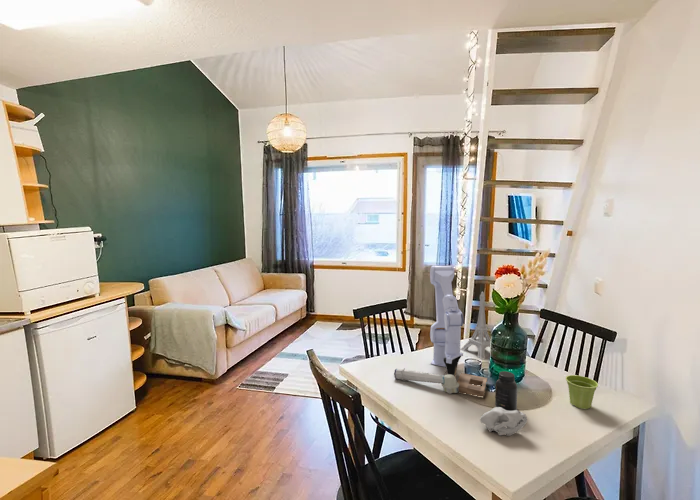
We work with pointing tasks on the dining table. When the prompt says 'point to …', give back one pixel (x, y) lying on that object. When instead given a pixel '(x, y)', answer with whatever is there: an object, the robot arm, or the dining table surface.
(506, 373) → the supplement bottle
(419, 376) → the gray mallet
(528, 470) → the dining table surface
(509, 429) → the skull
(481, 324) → the eiffel tower
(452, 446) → the dining table surface
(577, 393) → the plant pot
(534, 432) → the dining table surface
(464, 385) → the socket block
